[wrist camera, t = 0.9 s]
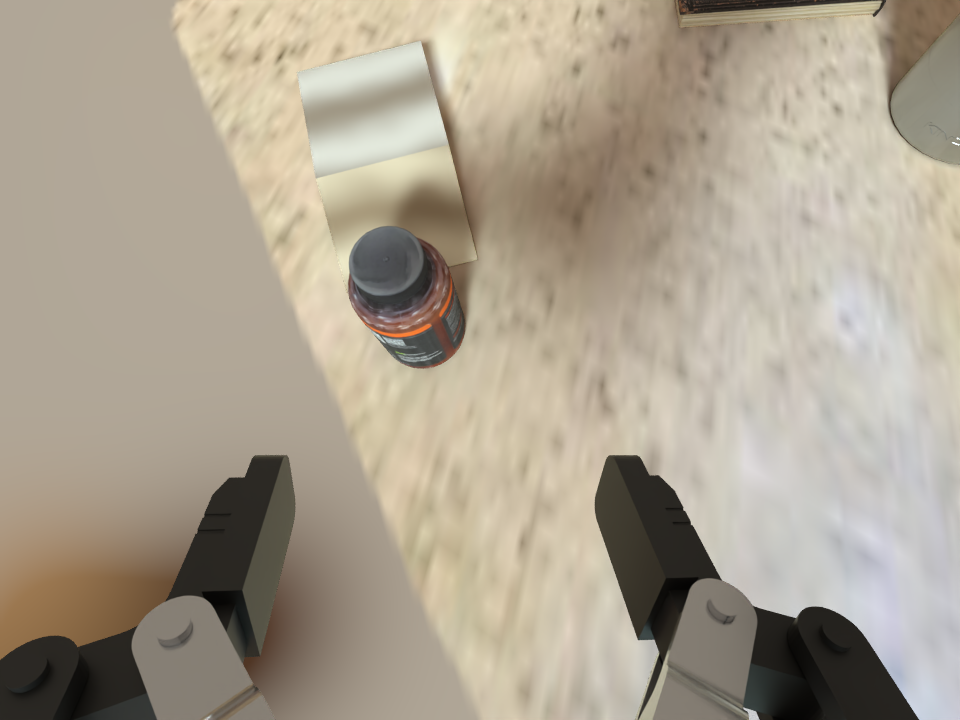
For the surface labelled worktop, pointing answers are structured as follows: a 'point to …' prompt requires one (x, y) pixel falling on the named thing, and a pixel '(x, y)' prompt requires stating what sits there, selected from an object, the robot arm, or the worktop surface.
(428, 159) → the ramp bench
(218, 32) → the worktop surface
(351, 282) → the supplement bottle
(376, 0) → the worktop surface
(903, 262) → the worktop surface
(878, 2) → the hardcover book
